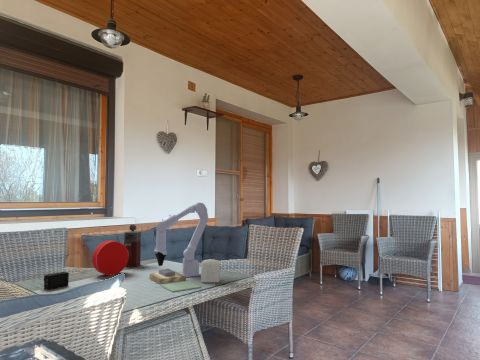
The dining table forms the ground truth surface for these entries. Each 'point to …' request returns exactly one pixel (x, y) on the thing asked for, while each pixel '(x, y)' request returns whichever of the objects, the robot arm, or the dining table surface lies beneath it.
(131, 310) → the dining table surface
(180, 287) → the mat
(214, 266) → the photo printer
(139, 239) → the glass decanter
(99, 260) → the red thick disc
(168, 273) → the slate tile
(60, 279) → the digital camera
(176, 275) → the deck
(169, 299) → the dining table surface
